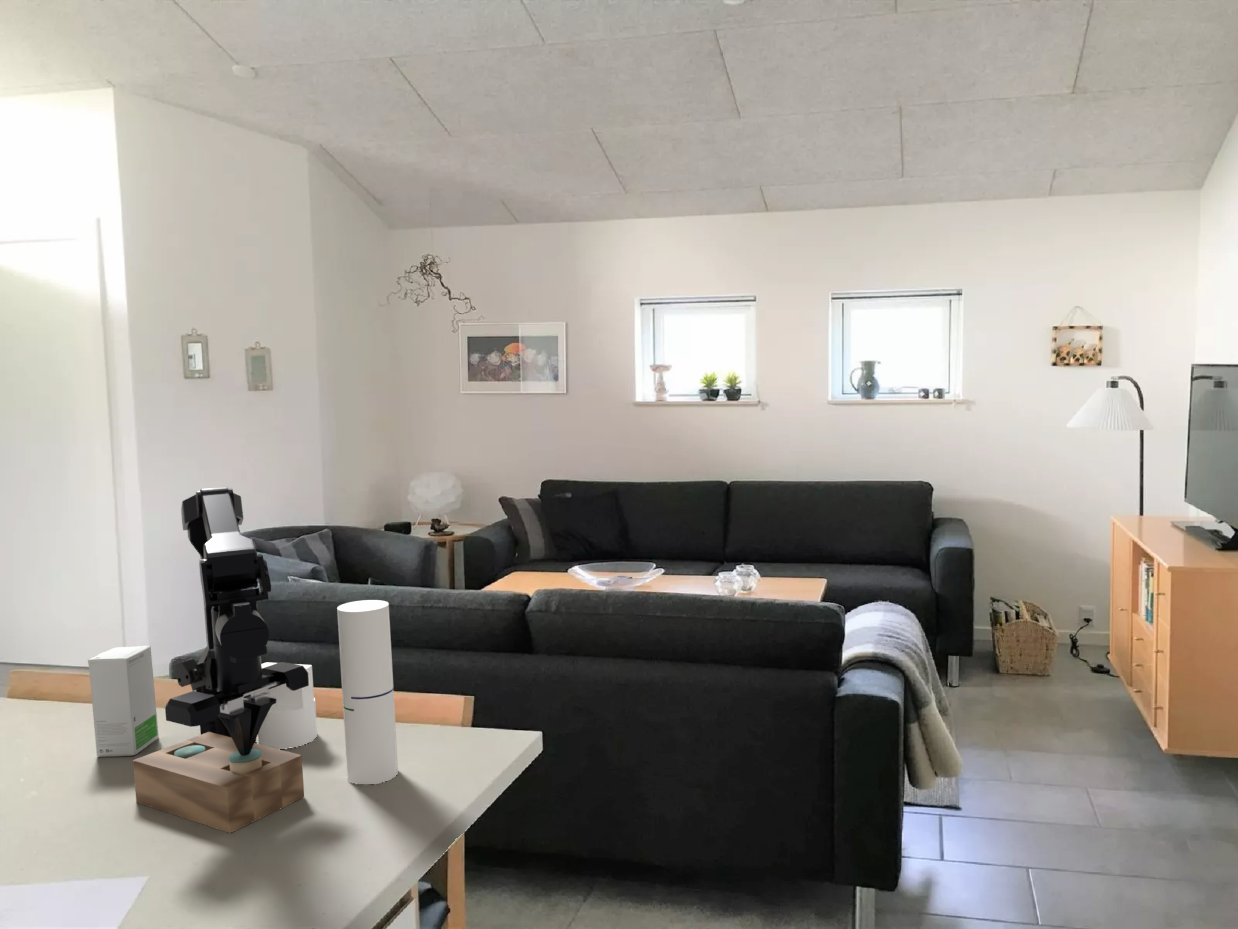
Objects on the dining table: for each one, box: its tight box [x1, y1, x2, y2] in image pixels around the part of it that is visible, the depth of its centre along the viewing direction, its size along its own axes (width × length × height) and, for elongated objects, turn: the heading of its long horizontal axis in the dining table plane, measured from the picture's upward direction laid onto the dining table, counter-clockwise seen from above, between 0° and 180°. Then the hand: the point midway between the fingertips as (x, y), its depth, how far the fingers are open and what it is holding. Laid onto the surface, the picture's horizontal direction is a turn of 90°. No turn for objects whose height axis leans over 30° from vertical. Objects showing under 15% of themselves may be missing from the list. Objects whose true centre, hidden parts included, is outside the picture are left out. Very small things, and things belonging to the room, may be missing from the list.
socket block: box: [132, 732, 305, 834], centre depth 137 cm, size 12×20×6 cm, turn 59°
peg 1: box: [174, 745, 205, 759], centre depth 140 cm, size 4×4×6 cm
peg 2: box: [229, 749, 262, 775], centre depth 133 cm, size 4×4×6 cm
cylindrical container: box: [336, 599, 399, 785], centre depth 142 cm, size 7×7×25 cm
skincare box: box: [87, 645, 160, 758], centre depth 157 cm, size 8×7×16 cm
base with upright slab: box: [257, 661, 318, 750], centre depth 159 cm, size 9×9×12 cm
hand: (244, 754), depth 133 cm, fingers closed, pressing on peg 2
